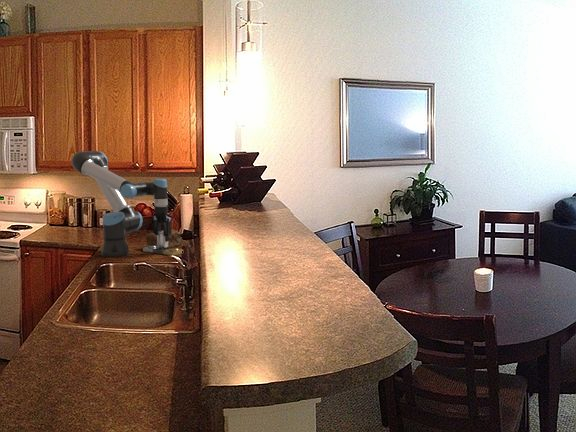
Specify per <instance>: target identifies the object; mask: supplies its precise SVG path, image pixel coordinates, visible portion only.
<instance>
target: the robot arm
mask: <svg viewBox="0 0 576 432" xmlns="http://www.w3.org/2000/svg"><path fill="white" fill-rule="evenodd" d="M108 162H109V160H108V157H107V155H106V154H105V153H104V152H102V151H100V150H99V151H98V150H91V151H90V150H86V151H84V150H82V151H78V152H75V154H74V155H72V158H71V166H72V168H73V169H74V170H75V171H76V172H78V173H79V174H81V175H84V176H88V177H90V178H93V179H94V180H95V182H96V183H97V186H98V187H99V189H100V190H101V192H102V194H103V196H104V197H105V199H106V201H107V202H108V203H109V206H110V207H111V209H112V211H113V212H112V211H111V212H107V213H105V214H104V215H103V216H102V231H103V232H102V234H103V244H102V247H101V251H100V254H101V256H102V257H108V258H111V257H113V258H115V257H123V256H128V255H129V254H130V248H129V244H128V242H127V241H126V234H128V233H129V234H130V233H133V232H134V233H135V232H137V231H138V230H139V229H141V227H142V225H143V221H144V220H143V216H142V214H141V213H140V212H139V211H137V210H134V208H133V207H132V205H130V204H128V203H127V202H126V200H125V198H126V199H132V198H137V197H143V196H153V203H154V205H153V206H154V214H155V215H154V216H151V220H152V229H153V230H152V231H153V232H152V233H154V234H156V240H157V247H159V233H158V231H162V230H164V236H163V239H164V248H165V247H168V241H169V235H171V229H172V218H173V217H169V216H168V213H169V207H168V205H169V201H168V181H167V179H166V178H154V179H152V182H151V181H149V182H148V181H139V182H135V183H133V182H131V181H129V180H127V179H125V178H123V177H122V176H120V175H117V174H116V173H114V172H112V171H111V170H109V165H108V164H109V163H108ZM166 233H167V234H166ZM168 248H169V247H168Z"/></svg>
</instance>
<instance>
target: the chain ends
mask: <svg viewBox="0 0 576 432" xmlns="http://www.w3.org/2000/svg"><path fill="white" fill-rule="evenodd" d="M142 251H143V252H144V253H145V252H146V253H150V254H151V253H152V254H160V255H167V256H172V255H174V256H177V255H182V254H183V253H182V251H183V252H184V249H181V248H177V247H168V248H167V247H166V249H165V250H159V247H157V246H156V245H149V246H146V247H143V248H142Z"/></svg>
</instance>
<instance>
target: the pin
mask: <svg viewBox="0 0 576 432" xmlns="http://www.w3.org/2000/svg"><path fill="white" fill-rule="evenodd" d="M158 233H159V250H165V249H166V247H165V248H164V239H163V236H164V231H162V230H161V231H158Z"/></svg>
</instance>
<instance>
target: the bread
mask: <svg viewBox="0 0 576 432" xmlns="http://www.w3.org/2000/svg"><path fill="white" fill-rule="evenodd" d="M161 231H164V230H163V229H161ZM166 234H167V233H166ZM181 240H182V237H181V233H180V231H178V230H176V229H174V228H171V235H169V241H168V247H167V248H173V247H177V246H180V245H181V242H182V241H181ZM146 245H147V246H149V245H156V246H157V240H156V234H154V233H153V232H151V233H148V234H147V236H146ZM147 246H146V247H147Z"/></svg>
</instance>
